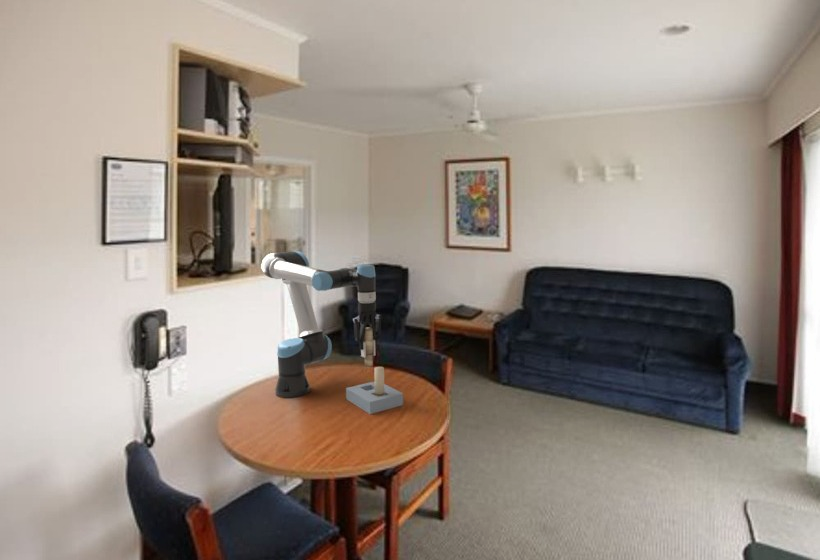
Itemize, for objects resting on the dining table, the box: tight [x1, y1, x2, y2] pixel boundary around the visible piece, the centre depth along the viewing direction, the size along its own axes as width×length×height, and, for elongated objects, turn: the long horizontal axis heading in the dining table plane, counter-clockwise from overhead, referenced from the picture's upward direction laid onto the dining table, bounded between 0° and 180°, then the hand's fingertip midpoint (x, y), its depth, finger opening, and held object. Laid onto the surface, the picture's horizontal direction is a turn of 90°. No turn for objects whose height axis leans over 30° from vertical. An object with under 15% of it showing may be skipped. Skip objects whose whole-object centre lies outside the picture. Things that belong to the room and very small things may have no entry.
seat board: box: [345, 366, 404, 415], centre depth 203 cm, size 20×16×16 cm
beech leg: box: [364, 326, 374, 367], centre depth 205 cm, size 4×4×16 cm
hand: (368, 355), depth 205 cm, fingers closed on beech leg, 4 cm apart
